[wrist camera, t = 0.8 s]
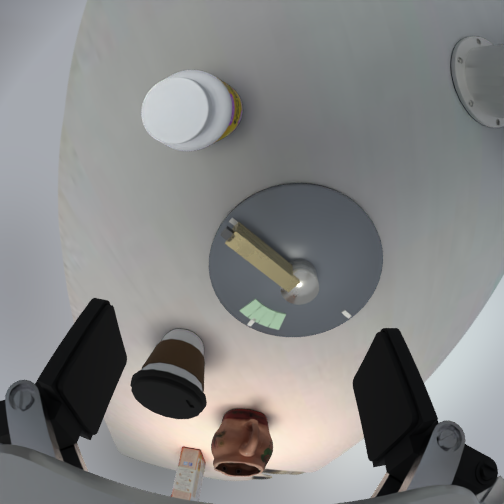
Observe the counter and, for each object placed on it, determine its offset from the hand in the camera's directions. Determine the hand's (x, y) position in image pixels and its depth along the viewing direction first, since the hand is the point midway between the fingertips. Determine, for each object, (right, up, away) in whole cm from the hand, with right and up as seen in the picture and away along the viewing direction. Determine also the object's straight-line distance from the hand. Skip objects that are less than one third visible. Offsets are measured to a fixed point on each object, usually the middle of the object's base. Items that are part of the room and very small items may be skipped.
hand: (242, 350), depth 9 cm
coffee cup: (-11, -11, +35) cm, 38 cm away
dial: (+6, +1, +26) cm, 27 cm away
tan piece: (+3, +3, +24) cm, 24 cm away
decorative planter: (-1, -31, +45) cm, 55 cm away
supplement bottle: (-4, +19, +18) cm, 26 cm away
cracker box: (-18, -60, +62) cm, 88 cm away
